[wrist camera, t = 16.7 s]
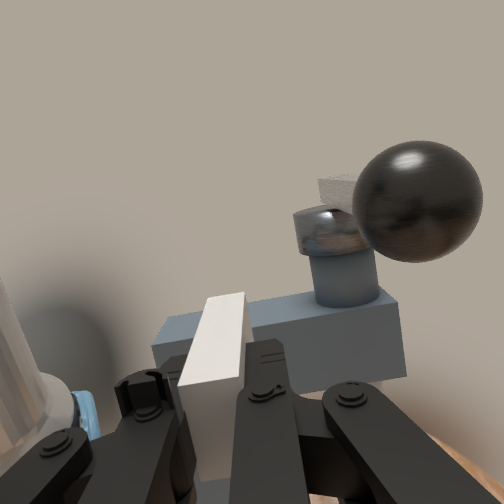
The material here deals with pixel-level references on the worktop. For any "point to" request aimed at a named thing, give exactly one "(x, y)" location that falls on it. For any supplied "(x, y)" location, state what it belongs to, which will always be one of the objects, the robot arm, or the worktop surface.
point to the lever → (396, 206)
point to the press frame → (314, 335)
